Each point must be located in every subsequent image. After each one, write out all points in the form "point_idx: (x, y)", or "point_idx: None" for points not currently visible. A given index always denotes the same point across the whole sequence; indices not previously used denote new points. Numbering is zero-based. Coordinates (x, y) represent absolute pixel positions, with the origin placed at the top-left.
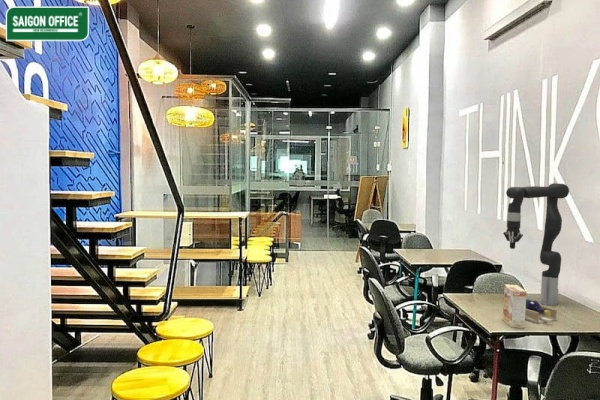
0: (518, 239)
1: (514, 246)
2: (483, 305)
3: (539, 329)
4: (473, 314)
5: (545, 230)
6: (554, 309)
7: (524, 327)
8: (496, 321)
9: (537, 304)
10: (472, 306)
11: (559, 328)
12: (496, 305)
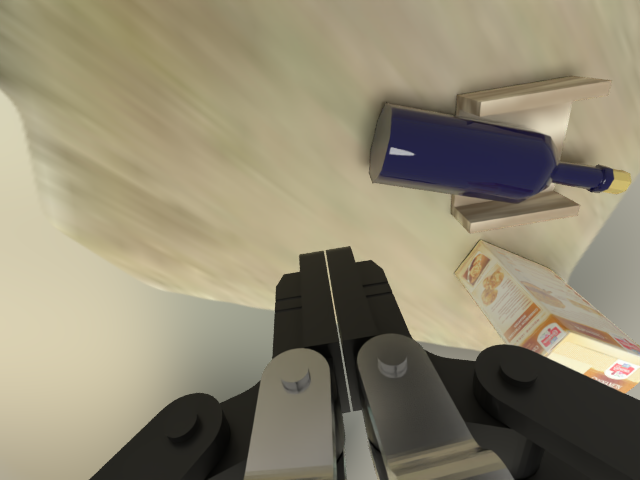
0: (611, 442)
1: (378, 289)
2: (274, 224)
3: (585, 233)
4: None
5: None
6: (600, 86)
7: (551, 270)
8: (461, 302)
9: (556, 172)
10: (281, 273)
11: (626, 155)
12: (283, 166)
